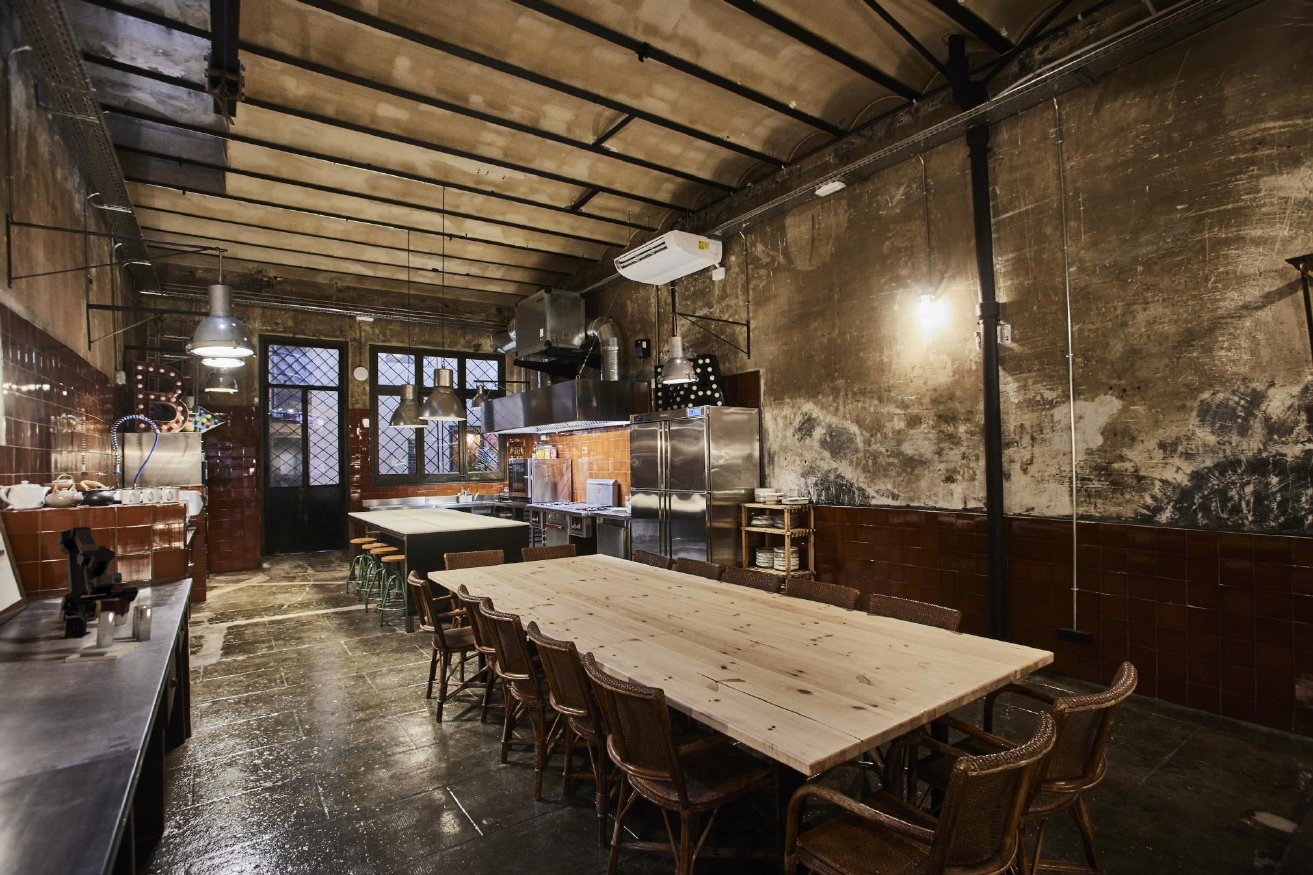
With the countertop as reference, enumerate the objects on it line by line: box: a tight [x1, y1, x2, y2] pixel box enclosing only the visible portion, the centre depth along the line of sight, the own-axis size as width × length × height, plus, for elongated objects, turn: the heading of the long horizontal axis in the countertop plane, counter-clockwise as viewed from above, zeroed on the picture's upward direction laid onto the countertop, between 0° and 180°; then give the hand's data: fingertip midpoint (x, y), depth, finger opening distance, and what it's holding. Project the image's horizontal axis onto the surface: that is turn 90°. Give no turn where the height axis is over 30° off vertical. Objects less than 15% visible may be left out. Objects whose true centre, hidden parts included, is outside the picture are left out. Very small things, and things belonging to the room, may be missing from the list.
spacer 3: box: [135, 606, 153, 643], centre depth 217 cm, size 4×4×11 cm
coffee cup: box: [101, 582, 132, 627], centre depth 237 cm, size 10×10×15 cm
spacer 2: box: [131, 604, 149, 640], centre depth 220 cm, size 4×4×11 cm
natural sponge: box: [87, 601, 101, 621], centre depth 241 cm, size 9×9×10 cm
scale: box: [64, 641, 141, 663], centre depth 201 cm, size 16×13×2 cm
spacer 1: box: [95, 611, 115, 649], centre depth 201 cm, size 4×4×11 cm
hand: (104, 618), depth 202 cm, fingers open, 9 cm apart
